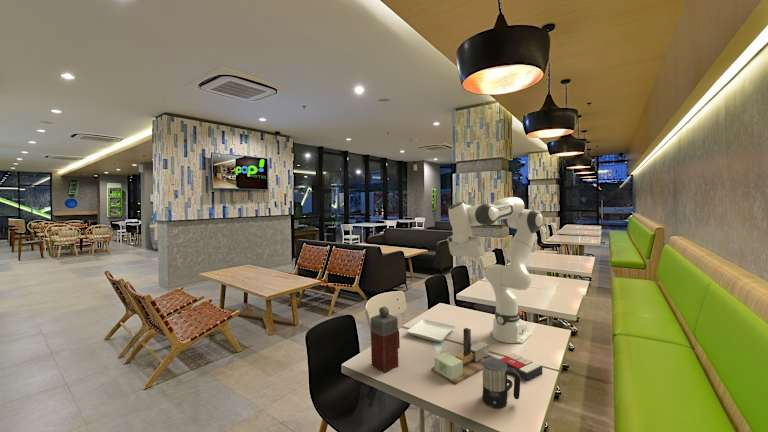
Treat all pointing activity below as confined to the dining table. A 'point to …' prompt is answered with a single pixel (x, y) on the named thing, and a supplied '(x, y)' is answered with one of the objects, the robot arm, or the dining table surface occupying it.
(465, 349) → the dark tall piece
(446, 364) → the socket block
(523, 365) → the calculator
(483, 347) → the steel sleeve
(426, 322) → the salad plate
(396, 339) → the red lidded canister
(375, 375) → the dining table surface
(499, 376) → the milk frother
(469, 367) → the walnut board
